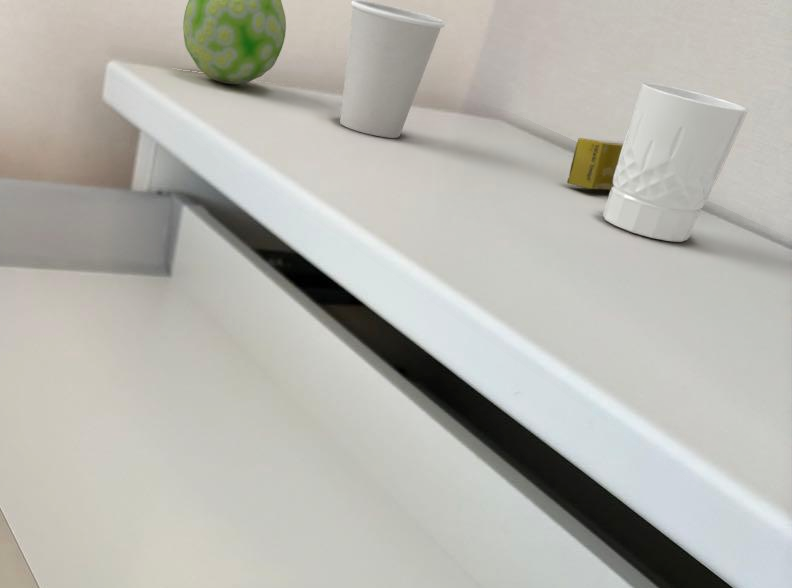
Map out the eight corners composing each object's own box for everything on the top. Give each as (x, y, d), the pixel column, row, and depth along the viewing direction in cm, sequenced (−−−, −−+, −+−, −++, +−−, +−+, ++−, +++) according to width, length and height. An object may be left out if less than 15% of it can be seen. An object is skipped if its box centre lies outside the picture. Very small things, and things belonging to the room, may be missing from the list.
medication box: (636, 187, 103) (649, 142, 101) (662, 193, 101) (676, 148, 99) (564, 183, 95) (577, 135, 94) (590, 190, 93) (604, 141, 92)
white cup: (671, 223, 90) (721, 97, 85) (710, 252, 84) (767, 116, 79) (582, 206, 89) (627, 76, 84) (614, 233, 82) (666, 94, 77)
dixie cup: (308, 118, 99) (334, -3, 94) (352, 114, 105) (378, 1, 100) (389, 144, 96) (420, 20, 90) (428, 139, 102) (460, 23, 97)
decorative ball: (292, 100, 105) (315, -14, 100) (198, 88, 101) (218, -32, 96) (247, 77, 112) (267, -31, 107) (158, 64, 108) (175, -49, 103)
